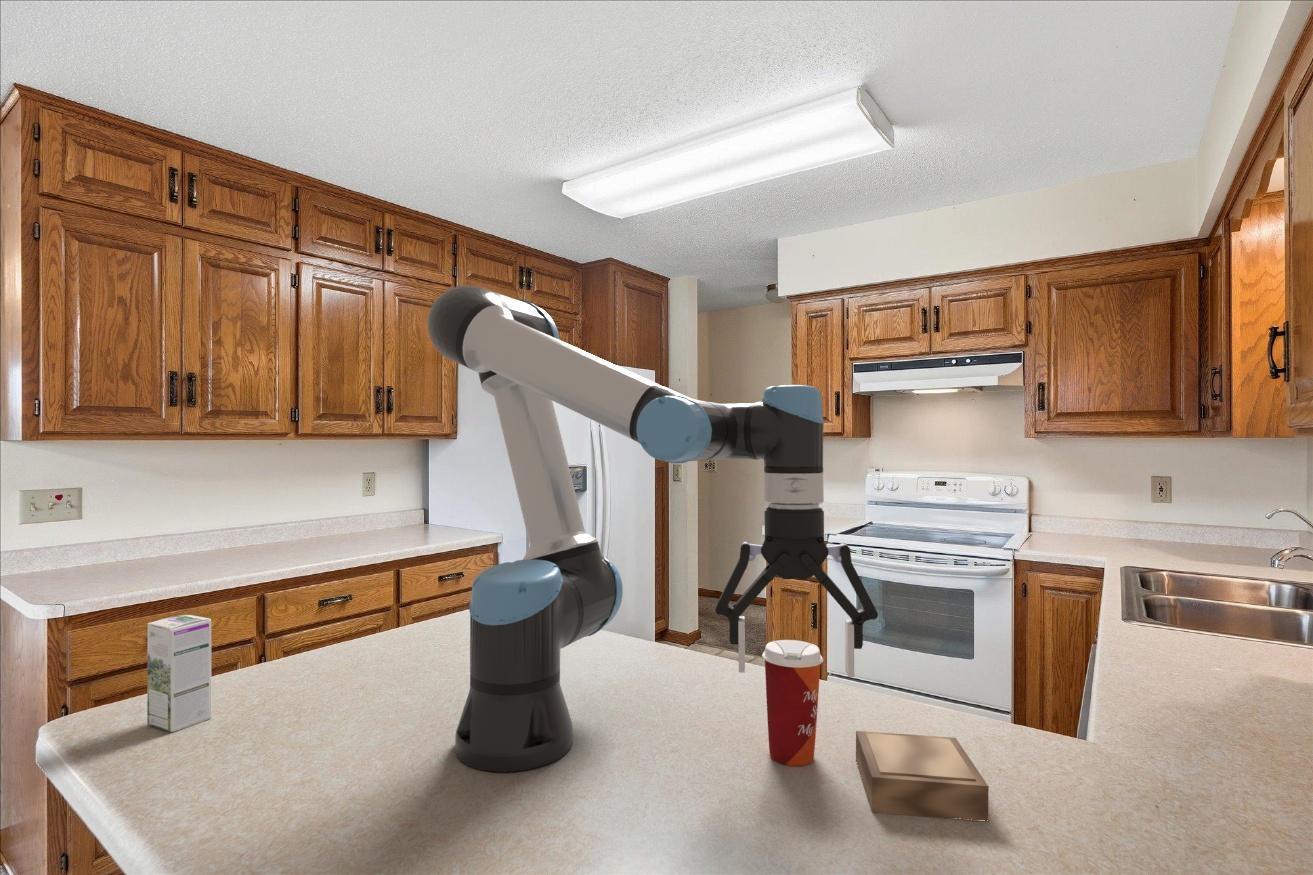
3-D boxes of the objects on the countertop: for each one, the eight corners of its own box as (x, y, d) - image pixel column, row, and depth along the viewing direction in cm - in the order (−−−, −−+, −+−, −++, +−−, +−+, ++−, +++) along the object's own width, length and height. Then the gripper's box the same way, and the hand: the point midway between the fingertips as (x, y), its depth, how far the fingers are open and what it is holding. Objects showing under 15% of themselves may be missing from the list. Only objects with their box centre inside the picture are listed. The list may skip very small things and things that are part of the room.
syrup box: (213, 718, 97) (214, 616, 97) (168, 734, 91) (170, 626, 92) (188, 711, 99) (190, 612, 99) (144, 726, 94) (145, 621, 94)
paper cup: (823, 773, 82) (824, 658, 82) (759, 767, 84) (760, 653, 84) (821, 745, 90) (822, 640, 90) (762, 739, 92) (763, 636, 92)
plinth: (871, 811, 74) (872, 775, 74) (855, 760, 86) (856, 729, 86) (988, 821, 72) (988, 784, 72) (955, 768, 84) (955, 736, 84)
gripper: (694, 507, 85) (695, 676, 85) (900, 509, 82) (902, 686, 81) (699, 502, 93) (700, 658, 92) (888, 504, 89) (890, 665, 89)
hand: (795, 671), depth 87 cm, fingers open, 13 cm apart
